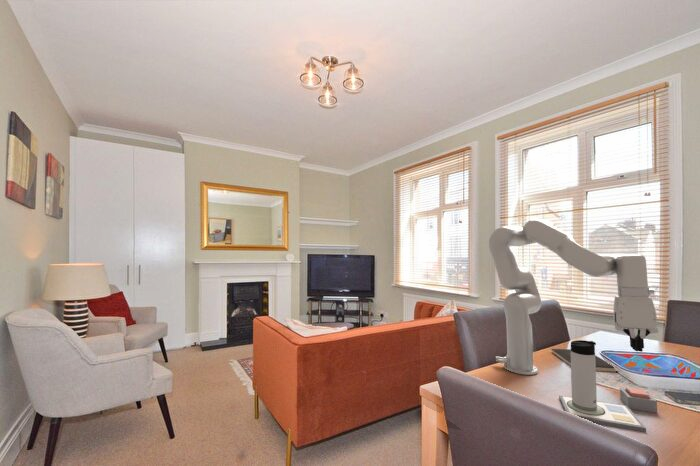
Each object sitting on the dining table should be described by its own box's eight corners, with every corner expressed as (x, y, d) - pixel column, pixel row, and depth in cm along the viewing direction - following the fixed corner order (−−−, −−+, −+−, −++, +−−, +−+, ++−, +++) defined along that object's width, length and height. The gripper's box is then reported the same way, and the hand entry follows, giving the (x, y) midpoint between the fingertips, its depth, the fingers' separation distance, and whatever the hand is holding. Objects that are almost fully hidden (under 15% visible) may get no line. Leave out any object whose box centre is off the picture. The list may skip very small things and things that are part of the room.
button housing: (628, 408, 101) (627, 396, 102) (620, 398, 108) (619, 388, 108) (657, 412, 99) (656, 401, 99) (647, 402, 105) (646, 391, 105)
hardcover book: (574, 370, 134) (574, 365, 134) (551, 353, 157) (551, 348, 157) (618, 373, 131) (618, 367, 131) (588, 355, 154) (588, 350, 154)
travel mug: (602, 412, 96) (600, 344, 97) (577, 410, 98) (575, 343, 98) (591, 402, 102) (589, 339, 103) (568, 400, 104) (566, 337, 105)
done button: (631, 399, 102) (631, 392, 102) (626, 393, 106) (626, 387, 106) (649, 401, 100) (649, 395, 101) (643, 395, 104) (643, 389, 105)
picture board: (568, 418, 96) (567, 413, 96) (559, 398, 109) (559, 394, 109) (646, 431, 88) (645, 427, 88) (626, 408, 101) (626, 404, 101)
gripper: (657, 291, 105) (662, 349, 104) (601, 290, 111) (605, 345, 110) (668, 294, 98) (674, 356, 97) (608, 293, 105) (612, 351, 103)
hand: (637, 350), depth 104 cm, fingers closed
